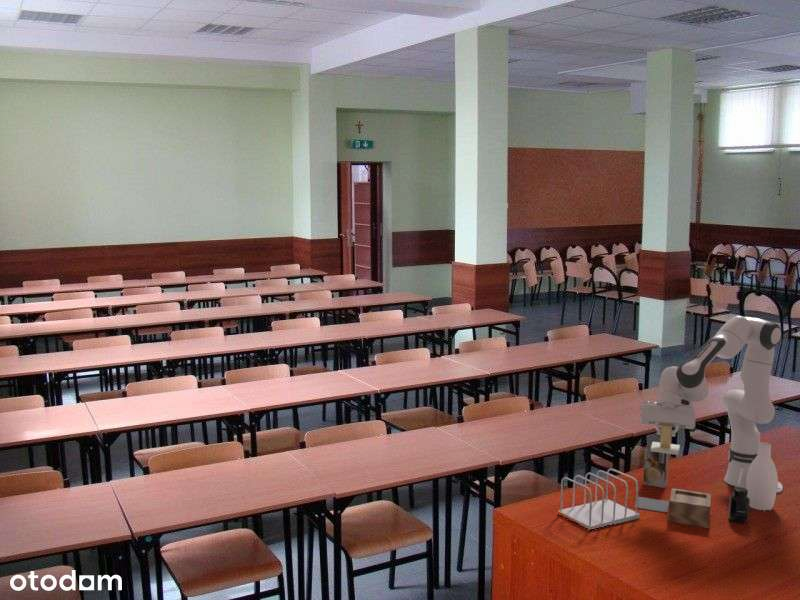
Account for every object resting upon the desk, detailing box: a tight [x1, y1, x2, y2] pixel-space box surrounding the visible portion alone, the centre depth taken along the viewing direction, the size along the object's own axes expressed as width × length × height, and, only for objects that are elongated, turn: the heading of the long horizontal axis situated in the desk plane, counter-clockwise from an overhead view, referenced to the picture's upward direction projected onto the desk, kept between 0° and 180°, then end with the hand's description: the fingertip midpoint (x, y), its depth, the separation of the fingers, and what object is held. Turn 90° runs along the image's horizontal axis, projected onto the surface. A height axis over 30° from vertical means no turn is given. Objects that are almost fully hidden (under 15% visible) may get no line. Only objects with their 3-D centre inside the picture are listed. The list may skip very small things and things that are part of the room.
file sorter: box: [557, 468, 641, 529], centre depth 288 cm, size 25×17×16 cm
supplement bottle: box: [727, 486, 750, 524], centre depth 288 cm, size 7×7×12 cm
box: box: [667, 487, 712, 529], centre depth 289 cm, size 14×14×8 cm
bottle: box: [746, 441, 779, 512], centre depth 301 cm, size 11×11×25 cm
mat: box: [634, 496, 670, 514], centre depth 302 cm, size 12×12×1 cm
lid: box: [651, 425, 681, 456], centre depth 295 cm, size 10×10×9 cm
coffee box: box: [642, 443, 669, 489], centre depth 324 cm, size 9×6×16 cm
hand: (666, 434), depth 294 cm, fingers closed on lid, 4 cm apart
